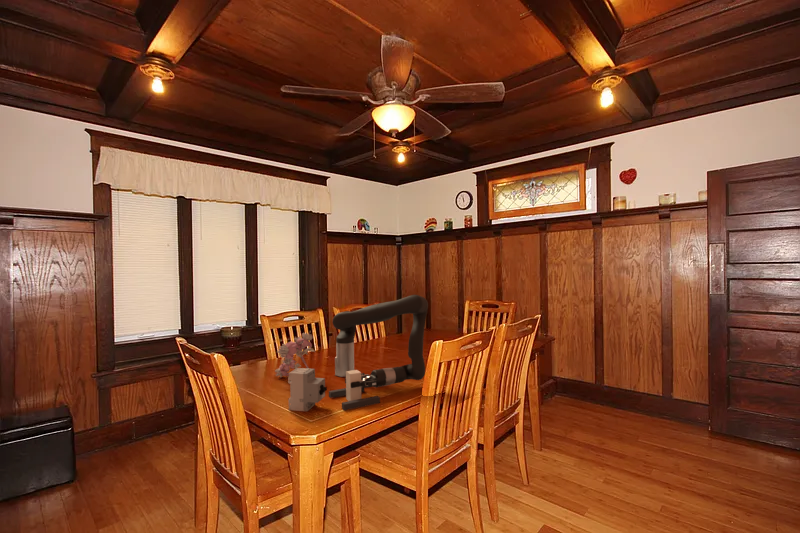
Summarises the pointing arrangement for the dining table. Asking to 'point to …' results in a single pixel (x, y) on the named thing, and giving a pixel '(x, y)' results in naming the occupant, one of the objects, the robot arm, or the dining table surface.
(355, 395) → the plug block
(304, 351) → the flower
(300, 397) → the circuit breaker
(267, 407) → the dining table surface
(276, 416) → the dining table surface
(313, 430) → the dining table surface
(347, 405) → the dark gray parallel rails
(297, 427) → the dining table surface
